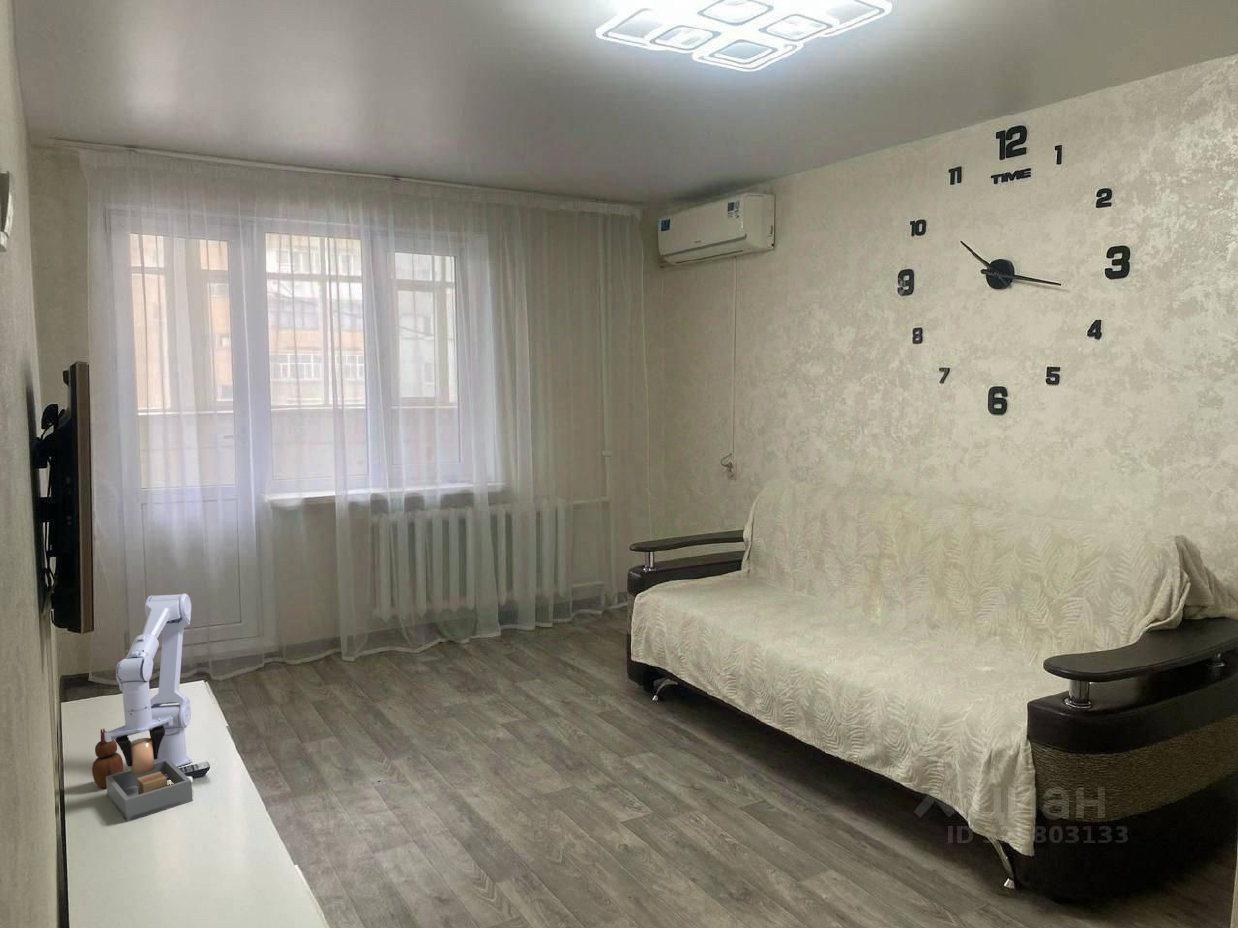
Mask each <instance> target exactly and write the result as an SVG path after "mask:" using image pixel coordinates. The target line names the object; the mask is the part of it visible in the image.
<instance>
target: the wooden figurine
mask: <svg viewBox="0 0 1238 928" xmlns="http://www.w3.org/2000/svg"><path fill="white" fill-rule="evenodd" d="M104 732H108V731H107V730H106V729H105V728H100V741H98V742H97V743H96V745H95V747H94V752H95V756H96V757H97V758H95V760H94V761H93V763H92V766H91V774H92V778H93V781H94V782H95V784H96V785H97V786H98V787H99V788H102V789H105V788H106V789H107V786H106V776H109V775H112V774H116V773H119V772H123V771H124V763H123V757H122V755H121V754H120V753H118V752H117V751H118V744H117V742H116V741H115V739H114V740H112V741H111V742H106V741H105V736H104Z"/></svg>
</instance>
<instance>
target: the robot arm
mask: <svg viewBox="0 0 1238 928" xmlns="http://www.w3.org/2000/svg"><path fill="white" fill-rule="evenodd" d="M144 614H145V616H146V621H145V624H144V627H143V630H142V633H141V634H140V635H136V637H135V638H134V640H133V642H132V645H131V646H130V648H129V650H128V653H127V654H126V656H125V658H123V659H122V660H120V661H119V662H118V663H117V665H116V670H115V677H116V678H115V679H116V681H117V683H118V686H119V687H118V688H119V690H120V692H122V703H123V713H124V724H125V725H123V726H120V727H119V726H118V727H117V728H115V729H111V730H108V731H107V732H104V736H105V741H106V742H111V741H112V740H115V741H116V743H117V746H118V747H119V749H120V751H121V752H122V754H123V757H124V760H125V763H126V766H128V767H129V768H131V766H132V759H131V742H132V740H130V739H129V738H130V737H129V736H133V735H137V734H140V733H144V732H149V738H151V739H152V742H153V754H154V762H158V761H161V760H165V759H169V760H170V761H171V762H172V763H173V764H174V765H175V766H177V767H181V766H184V765H185V766H186V765H188V764H191V763H193V760H192V759H191V758H190V757H189V756H188V755H187V747H186V746H187V745H186V733H185V731H186V730H185V729H187V727H188V726H189V725H190V722H191V717H192V712H191V711H192V710H191V700H190V699H189V697H188V696H187V695H185V694H183V693H182V692H181V691H180V683H181V682H180V681H181V672H182V671H181V670H182V669H181V668H182V654H183V653H182V652H183V641H184V640H183V639H184V631H185V628H187V627H188V626H190V625H191V619H192V618H191V615H192V601H191V598H190V596H189V594H187V593H182V594H181V593H179V594H178V593H177V594H164V595H162V594H161V595H152V594H151V595H149V596H148V597H147V598H146V600H145V604H144ZM161 632H162V639H161V652H160V653H161V654H160V665H159V666H160V667H159V669H160V670H159V679H158V680H159V681H158V692H157V693H156V694H155V695H154V696H153V697H151V693H150V691H151V690H150V679H151V678H152V675H153V667H154V658H155V656H156V653H157V651H158V649H159V647H160V642H159V640H158V638H159V636H160V634H161Z"/></svg>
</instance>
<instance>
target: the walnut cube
mask: <svg viewBox="0 0 1238 928" xmlns="http://www.w3.org/2000/svg"><path fill="white" fill-rule="evenodd" d="M137 782H138V793H139V795H140V794H143V793H146V792H150V791H153V790H156V789H159V788H163V787H166V786H167V778H166V777H165V776H164V775H163V774H162V773H161V772H156V773H153V774H150V775H146V776H143V777H140V778H137Z"/></svg>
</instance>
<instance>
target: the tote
mask: <svg viewBox="0 0 1238 928" xmlns="http://www.w3.org/2000/svg"><path fill="white" fill-rule="evenodd" d="M154 766H155V768H154V769H153V770H152V771H150V772H148V773H144V774H132V773H131V768H130V769H127V770H123V772H119V773H116V774H112V775H109V776H106V786H107V788H106V797H107V798H108V799H109V800H110V802H111V803H112V804H113V805H114V807H115V808H116V809H117V810H118V812H119V813H120V814H121V816H122V817H123V819H124V820H125V821H126V822H127V823H129V822H131V821H135V820H138V819H141V818H144V817H147V816H150V815H153V814H156V813H160V812H163V811H165V810H168V809H171V808H174V807H175V808H176V807H179V806H181V805H184V804H187V803H190V802H193V800H194V799H193V790H192V789H193V788H192V780H191V779H190V778H189V777H188V775H186V774H185V773H184V772H183V771H182V770H181V769H180V768H178V767H179V766H178V767H177V766H175V765H174V764H173V763H172V762H171V761H170V760H169V759H165V760H161V761H158V762H154ZM156 772H161V773H162V774H163V775H164V774H167V775H168V777H169V778H170V780H171V781H172V782H173V783H174V784H171V785H170V784H169V785H167V786H166V787H163V788H159V789H156V790H153V791H150V792H146V793H143V794H140V795H139V793H138V786H137V785H138V782H137V778H140V777H143V776H146V775H150V774H153V773H156Z"/></svg>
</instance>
